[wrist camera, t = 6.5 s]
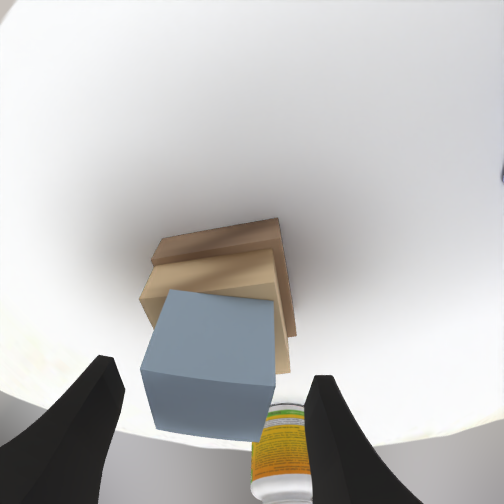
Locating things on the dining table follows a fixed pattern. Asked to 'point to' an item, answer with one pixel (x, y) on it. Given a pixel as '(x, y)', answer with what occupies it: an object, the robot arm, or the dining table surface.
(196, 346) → the slate blue cube
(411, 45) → the dining table surface
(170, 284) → the oak slab
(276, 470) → the supplement bottle
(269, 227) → the walnut slab
